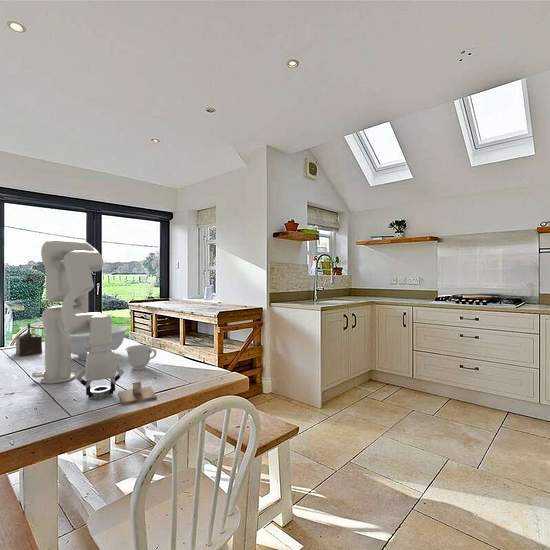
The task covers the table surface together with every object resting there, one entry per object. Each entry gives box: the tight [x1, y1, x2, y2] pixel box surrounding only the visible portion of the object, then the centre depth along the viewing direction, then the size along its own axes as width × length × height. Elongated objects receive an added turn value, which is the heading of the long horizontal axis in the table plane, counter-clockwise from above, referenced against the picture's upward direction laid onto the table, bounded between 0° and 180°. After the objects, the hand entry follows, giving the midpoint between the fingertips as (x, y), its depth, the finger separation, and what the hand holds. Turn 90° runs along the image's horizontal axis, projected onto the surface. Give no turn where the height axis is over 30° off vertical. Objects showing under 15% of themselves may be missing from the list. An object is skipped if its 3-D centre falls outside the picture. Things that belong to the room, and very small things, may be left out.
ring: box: [89, 385, 112, 401], centre depth 130 cm, size 7×7×3 cm
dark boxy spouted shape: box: [15, 323, 44, 357], centre depth 193 cm, size 16×11×18 cm
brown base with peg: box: [117, 380, 157, 406], centre depth 131 cm, size 12×12×6 cm
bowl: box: [69, 324, 128, 361], centre depth 186 cm, size 32×32×15 cm
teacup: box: [125, 344, 157, 371], centre depth 166 cm, size 12×15×10 cm
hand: (100, 394), depth 130 cm, fingers closed on ring, 7 cm apart
